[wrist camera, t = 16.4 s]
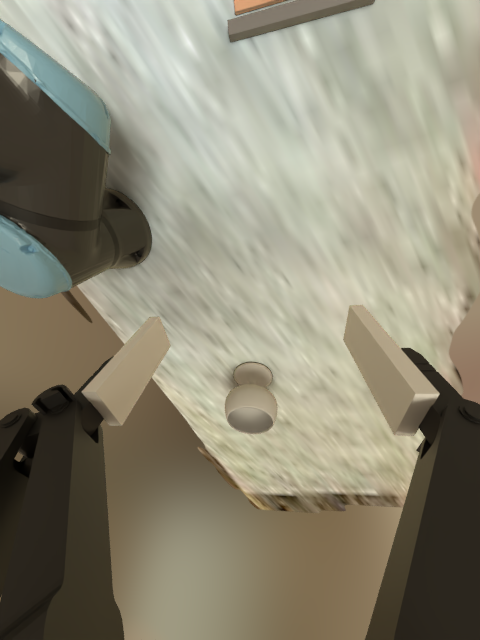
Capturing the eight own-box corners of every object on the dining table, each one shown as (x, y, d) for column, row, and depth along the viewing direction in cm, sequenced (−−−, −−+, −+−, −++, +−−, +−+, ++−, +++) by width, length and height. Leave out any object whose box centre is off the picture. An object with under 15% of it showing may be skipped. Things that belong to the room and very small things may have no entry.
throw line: (230, 42, 27) (228, 35, 26) (229, 28, 27) (227, 20, 26) (373, 3, 25) (379, -7, 23) (375, -13, 24) (381, -25, 23)
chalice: (227, 359, 60) (217, 404, 47) (274, 358, 58) (277, 404, 45) (234, 390, 67) (227, 435, 55) (276, 390, 65) (279, 437, 53)
